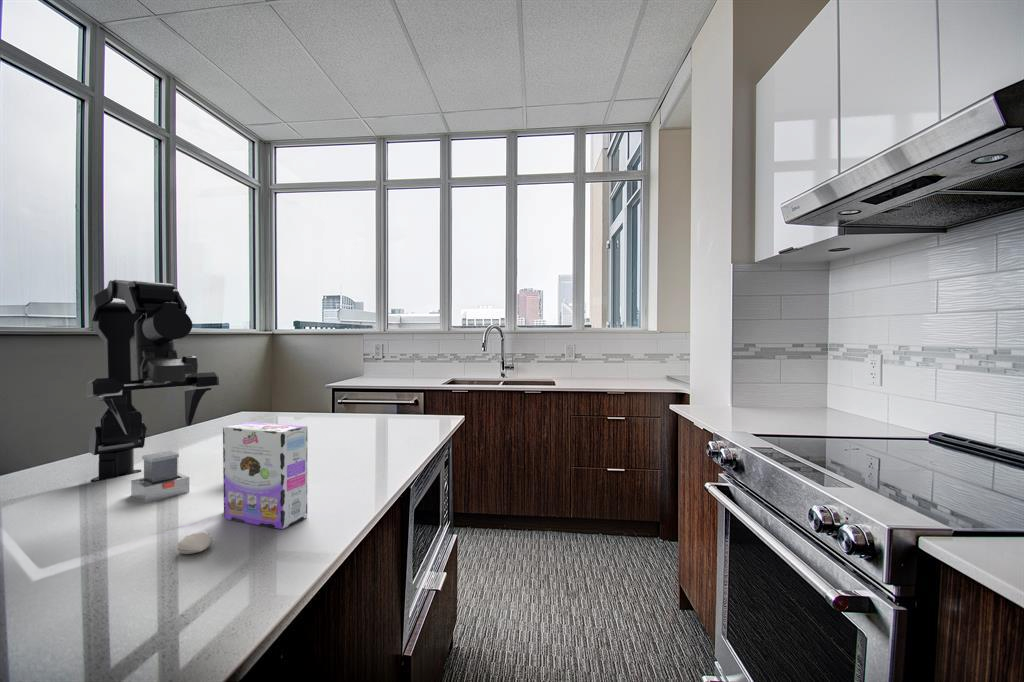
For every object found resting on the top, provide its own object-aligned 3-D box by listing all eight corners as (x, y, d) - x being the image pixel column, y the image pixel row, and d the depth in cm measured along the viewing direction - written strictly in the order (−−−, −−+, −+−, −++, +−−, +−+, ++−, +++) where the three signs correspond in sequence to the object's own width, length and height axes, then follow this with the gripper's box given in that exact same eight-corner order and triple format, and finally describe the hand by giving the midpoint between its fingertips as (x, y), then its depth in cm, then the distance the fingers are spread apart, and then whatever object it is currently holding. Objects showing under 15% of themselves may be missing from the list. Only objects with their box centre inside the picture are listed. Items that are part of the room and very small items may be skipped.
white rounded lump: (208, 542, 68) (208, 526, 68) (219, 552, 65) (219, 536, 65) (174, 553, 65) (174, 536, 65) (184, 564, 61) (184, 546, 61)
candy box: (309, 517, 77) (309, 425, 77) (281, 531, 72) (282, 431, 72) (251, 507, 82) (251, 419, 82) (221, 519, 76) (221, 425, 76)
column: (141, 494, 85) (141, 455, 85) (169, 487, 88) (169, 450, 88) (150, 499, 82) (150, 459, 82) (179, 492, 86) (179, 454, 86)
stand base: (109, 502, 83) (109, 481, 83) (183, 484, 94) (183, 466, 94) (133, 516, 77) (133, 494, 77) (209, 495, 87) (209, 475, 87)
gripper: (99, 341, 70) (103, 438, 69) (228, 341, 85) (233, 420, 84) (83, 350, 77) (86, 439, 75) (205, 348, 92) (210, 422, 91)
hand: (159, 429), depth 81 cm, fingers open, 9 cm apart
